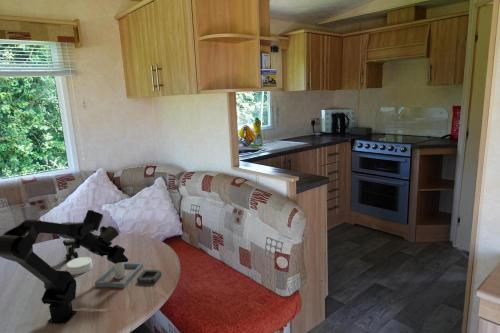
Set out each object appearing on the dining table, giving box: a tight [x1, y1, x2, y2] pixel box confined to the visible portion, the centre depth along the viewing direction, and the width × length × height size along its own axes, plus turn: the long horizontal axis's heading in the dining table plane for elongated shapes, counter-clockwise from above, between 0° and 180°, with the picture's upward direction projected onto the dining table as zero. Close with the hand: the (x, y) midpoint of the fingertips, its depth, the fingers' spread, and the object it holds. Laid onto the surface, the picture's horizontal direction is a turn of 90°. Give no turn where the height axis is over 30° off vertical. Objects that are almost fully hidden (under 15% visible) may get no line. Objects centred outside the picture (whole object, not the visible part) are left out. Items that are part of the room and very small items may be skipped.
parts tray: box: [94, 262, 144, 289], centre depth 140 cm, size 16×12×2 cm
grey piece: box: [134, 269, 164, 287], centre depth 137 cm, size 10×8×3 cm
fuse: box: [112, 262, 127, 280], centre depth 139 cm, size 4×4×12 cm
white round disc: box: [65, 256, 93, 276], centre depth 149 cm, size 10×10×4 cm
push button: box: [61, 238, 79, 262], centre depth 158 cm, size 7×5×10 cm
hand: (121, 257), depth 140 cm, fingers open, 9 cm apart
